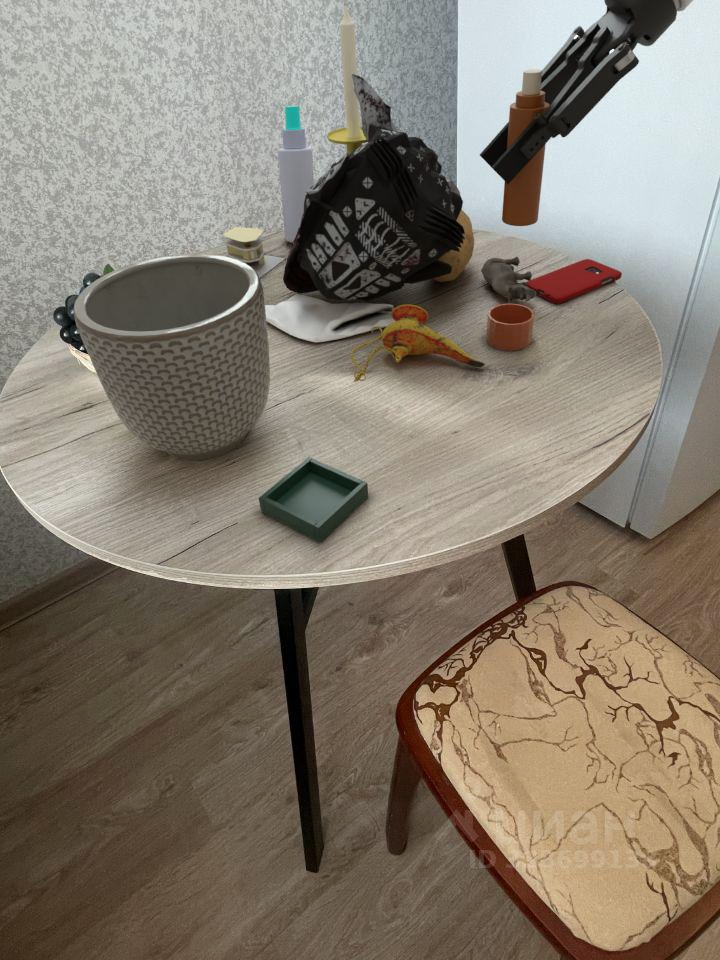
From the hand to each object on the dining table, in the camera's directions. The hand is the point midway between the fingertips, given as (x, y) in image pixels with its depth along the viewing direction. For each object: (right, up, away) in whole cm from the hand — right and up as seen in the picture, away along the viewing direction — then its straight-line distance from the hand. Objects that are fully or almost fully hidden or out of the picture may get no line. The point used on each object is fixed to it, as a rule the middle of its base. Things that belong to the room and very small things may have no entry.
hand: (493, 169), depth 83 cm
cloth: (-21, -13, +23) cm, 33 cm away
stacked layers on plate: (-36, +1, +41) cm, 54 cm away
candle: (-16, +2, +39) cm, 42 cm away
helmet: (-26, -10, +23) cm, 36 cm away
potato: (-2, -3, +32) cm, 33 cm away
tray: (-21, -40, -8) cm, 46 cm away
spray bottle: (-27, +7, +47) cm, 55 cm away
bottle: (+4, -4, +4) cm, 7 cm away
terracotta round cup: (+5, -17, +16) cm, 24 cm away
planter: (-35, -32, +3) cm, 47 cm away
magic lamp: (-7, -15, +12) cm, 20 cm away
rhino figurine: (+10, -6, +25) cm, 28 cm away
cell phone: (+18, -5, +27) cm, 33 cm away
